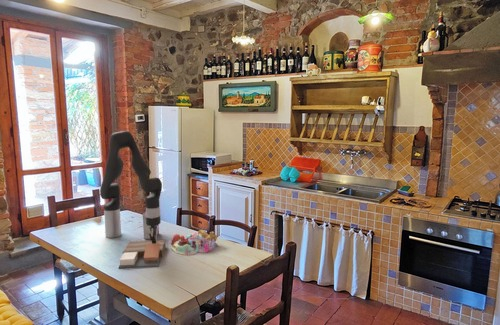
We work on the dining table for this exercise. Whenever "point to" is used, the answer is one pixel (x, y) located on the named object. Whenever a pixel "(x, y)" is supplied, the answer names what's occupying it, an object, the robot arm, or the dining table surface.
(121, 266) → the rubber mat
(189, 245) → the candy landscape model
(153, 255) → the terracotta tile
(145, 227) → the candy bar box
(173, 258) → the dining table surface
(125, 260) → the cream tile
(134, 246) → the walnut board
